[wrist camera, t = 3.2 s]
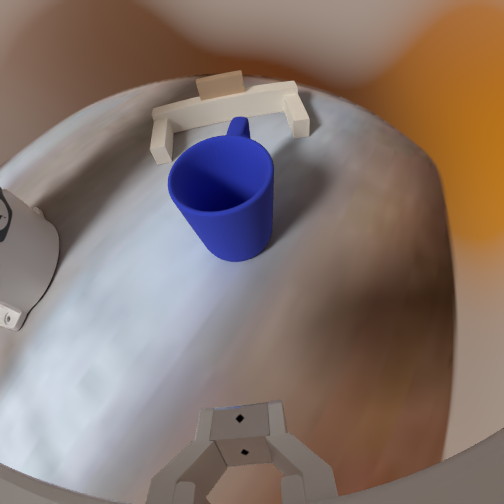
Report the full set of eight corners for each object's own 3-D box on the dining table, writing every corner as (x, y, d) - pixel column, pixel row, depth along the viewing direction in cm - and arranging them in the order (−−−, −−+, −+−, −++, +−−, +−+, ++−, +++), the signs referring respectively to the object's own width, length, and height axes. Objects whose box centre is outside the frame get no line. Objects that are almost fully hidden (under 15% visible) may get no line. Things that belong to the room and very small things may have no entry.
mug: (287, 178, 34) (283, 108, 25) (273, 277, 28) (265, 219, 20) (217, 174, 35) (197, 108, 26) (191, 267, 30) (152, 212, 21)
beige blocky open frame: (157, 165, 37) (138, 126, 31) (161, 128, 41) (146, 92, 35) (309, 136, 36) (309, 92, 30) (294, 102, 40) (293, 63, 34)
